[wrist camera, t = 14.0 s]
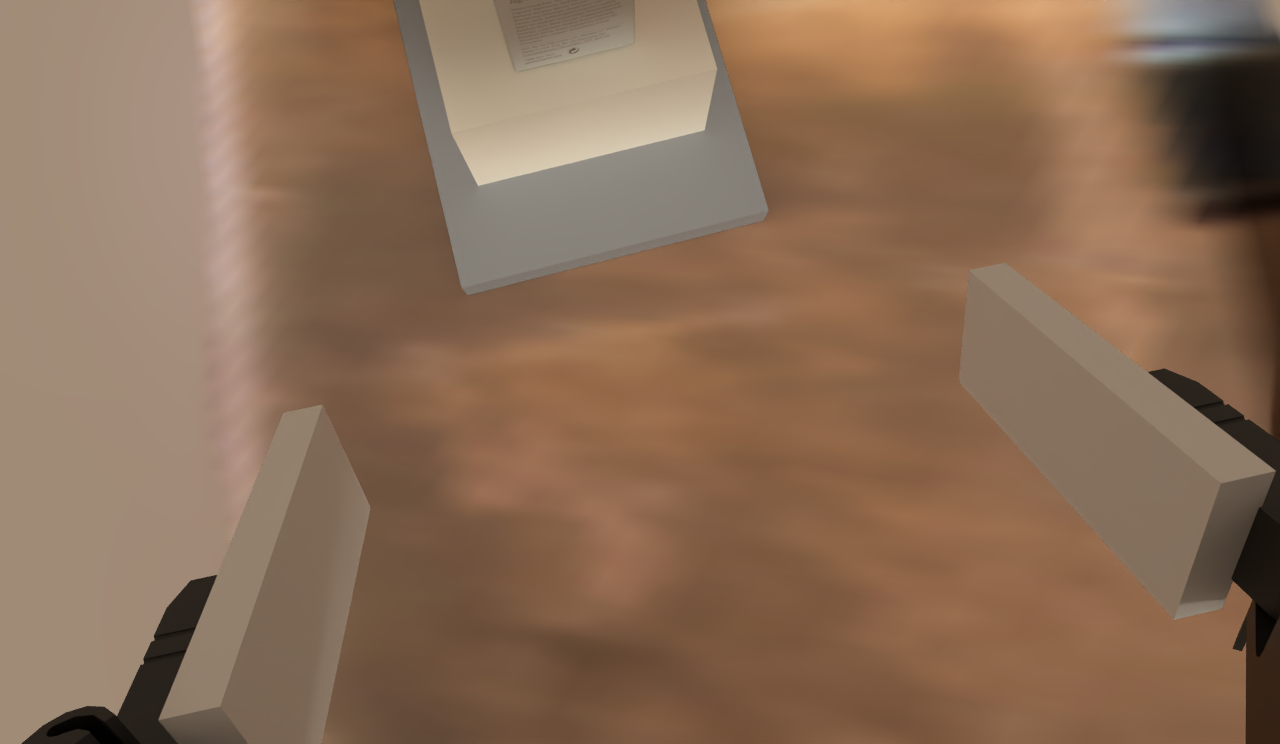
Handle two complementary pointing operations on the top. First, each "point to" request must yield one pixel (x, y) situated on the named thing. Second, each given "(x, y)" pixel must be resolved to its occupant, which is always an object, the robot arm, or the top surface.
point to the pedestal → (577, 141)
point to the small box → (563, 28)
